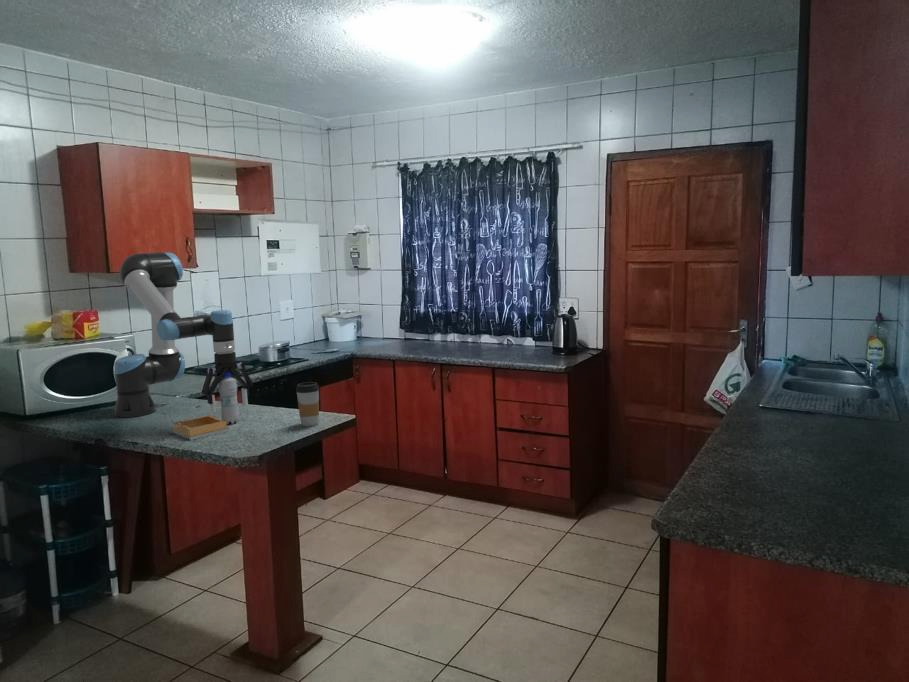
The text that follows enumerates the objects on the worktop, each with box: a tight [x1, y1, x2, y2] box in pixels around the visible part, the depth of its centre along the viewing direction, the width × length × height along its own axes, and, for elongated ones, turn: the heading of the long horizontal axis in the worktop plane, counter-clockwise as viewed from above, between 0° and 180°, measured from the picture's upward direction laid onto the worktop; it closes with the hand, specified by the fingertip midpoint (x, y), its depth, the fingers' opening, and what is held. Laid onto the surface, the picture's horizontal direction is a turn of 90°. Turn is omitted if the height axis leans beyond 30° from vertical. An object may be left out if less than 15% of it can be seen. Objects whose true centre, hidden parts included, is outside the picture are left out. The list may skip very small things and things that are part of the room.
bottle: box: [217, 372, 240, 425], centre depth 247 cm, size 7×7×20 cm
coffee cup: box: [295, 381, 320, 427], centre depth 241 cm, size 8×8×15 cm
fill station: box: [172, 415, 230, 441], centre depth 237 cm, size 15×14×4 cm
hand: (229, 408), depth 247 cm, fingers open, 12 cm apart
